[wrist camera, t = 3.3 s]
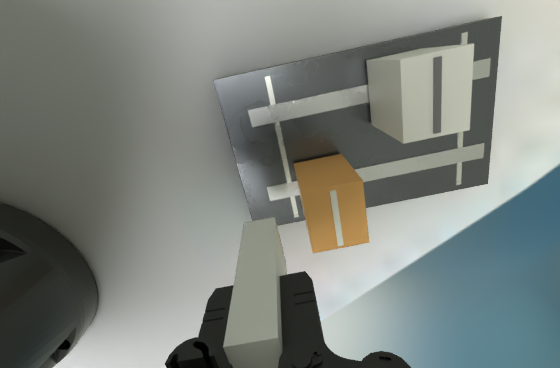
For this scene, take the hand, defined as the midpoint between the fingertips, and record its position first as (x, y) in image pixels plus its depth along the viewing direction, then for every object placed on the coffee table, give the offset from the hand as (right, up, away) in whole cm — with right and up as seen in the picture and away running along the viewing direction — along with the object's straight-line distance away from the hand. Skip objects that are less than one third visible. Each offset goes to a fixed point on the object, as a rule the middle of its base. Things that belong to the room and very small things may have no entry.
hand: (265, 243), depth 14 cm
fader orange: (+3, +3, +4) cm, 6 cm away
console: (+6, +6, +5) cm, 10 cm away
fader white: (+7, +8, +2) cm, 11 cm away
